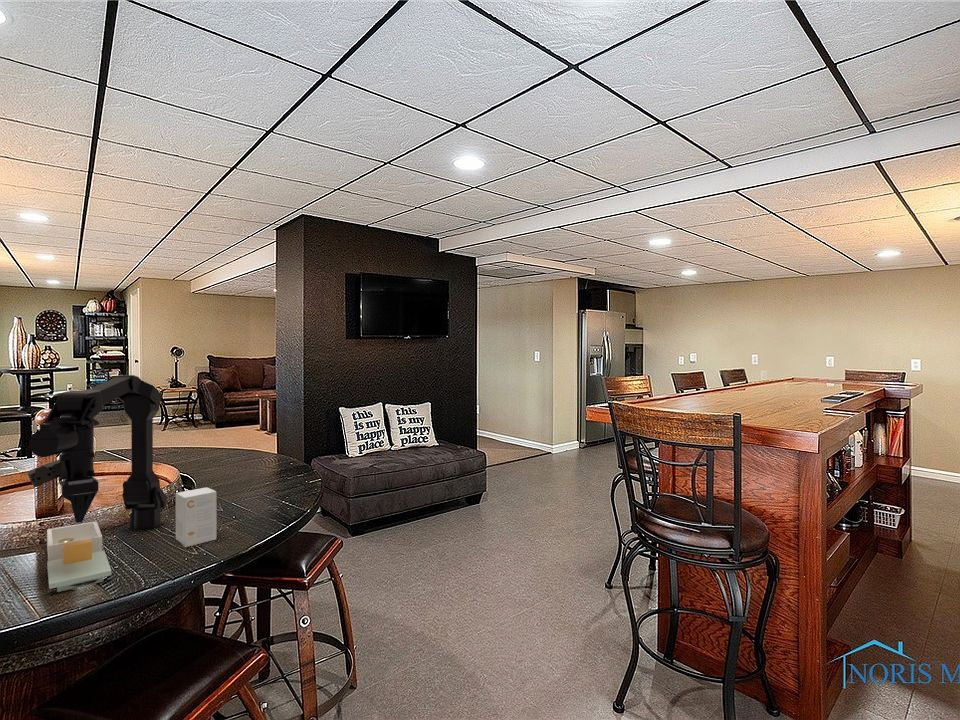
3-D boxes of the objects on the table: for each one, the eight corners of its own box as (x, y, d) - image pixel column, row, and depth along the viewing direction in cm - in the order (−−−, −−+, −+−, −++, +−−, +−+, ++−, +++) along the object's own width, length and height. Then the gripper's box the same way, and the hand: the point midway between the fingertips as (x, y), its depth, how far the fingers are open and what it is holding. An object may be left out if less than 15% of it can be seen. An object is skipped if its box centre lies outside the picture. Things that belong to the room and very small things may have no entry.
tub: (47, 549, 130) (47, 529, 130) (96, 540, 136) (96, 521, 136) (48, 567, 119) (48, 546, 119) (102, 556, 126) (102, 536, 126)
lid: (47, 572, 117) (47, 543, 117) (104, 560, 124) (104, 533, 123) (49, 596, 106) (49, 564, 106) (111, 581, 113) (111, 552, 113)
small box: (207, 533, 142) (207, 486, 142) (217, 539, 138) (217, 491, 138) (174, 541, 136) (174, 492, 136) (183, 548, 132) (184, 497, 132)
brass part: (76, 546, 130) (76, 538, 130) (67, 550, 127) (67, 542, 127) (64, 545, 130) (64, 538, 130) (54, 550, 127) (54, 542, 127)
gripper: (30, 445, 119) (30, 513, 119) (30, 459, 105) (30, 536, 105) (91, 441, 126) (90, 505, 126) (98, 453, 112) (98, 525, 112)
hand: (77, 517), depth 117 cm, fingers open, 9 cm apart
